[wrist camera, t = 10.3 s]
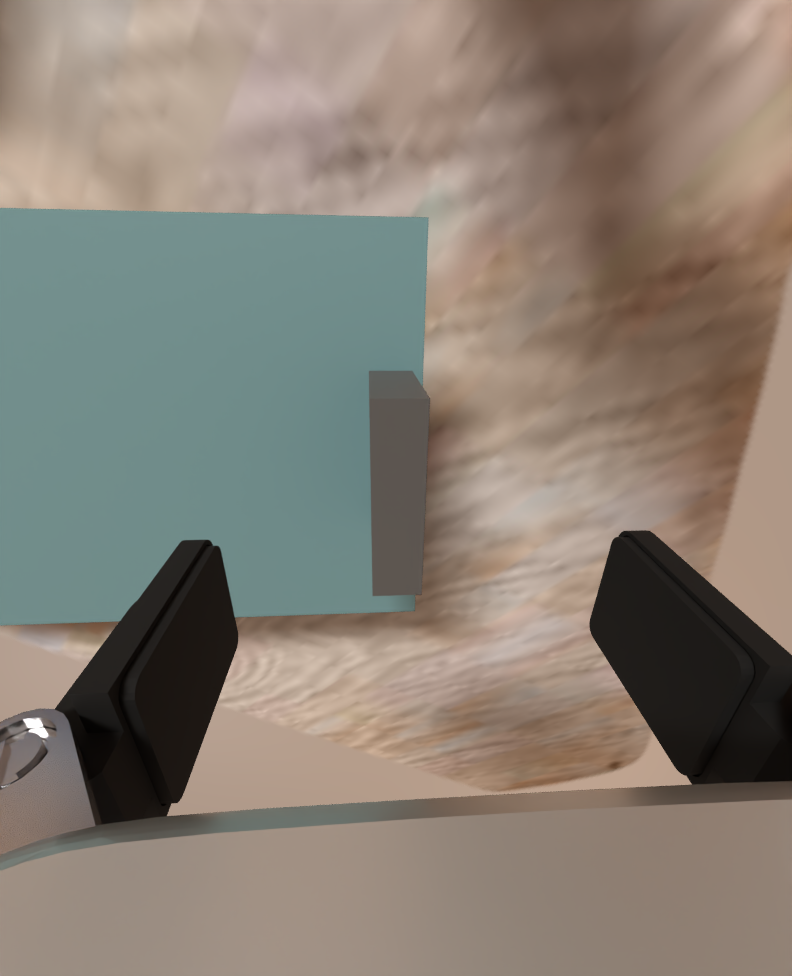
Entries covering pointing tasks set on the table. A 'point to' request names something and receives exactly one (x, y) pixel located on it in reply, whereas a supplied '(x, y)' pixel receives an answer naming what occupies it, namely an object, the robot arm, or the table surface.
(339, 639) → the table surface
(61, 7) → the table surface
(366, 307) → the lid
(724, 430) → the table surface
